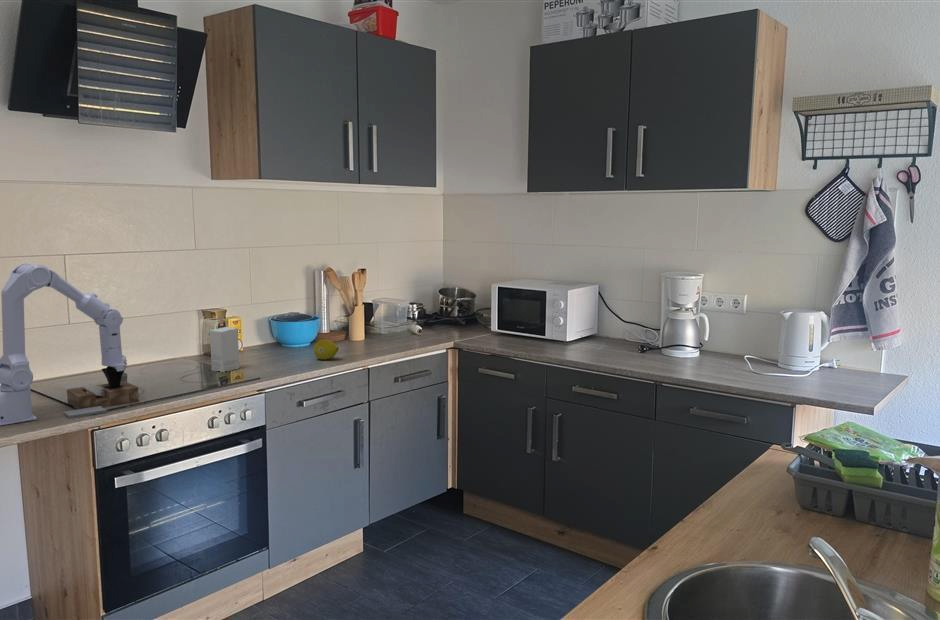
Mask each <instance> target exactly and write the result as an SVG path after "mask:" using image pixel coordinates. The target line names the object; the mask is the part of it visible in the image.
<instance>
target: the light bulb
mask: <svg viewBox="0 0 940 620" xmlns="http://www.w3.org/2000/svg"><path fill="white" fill-rule="evenodd" d="M122 359H126V360H127V355H125V354H122ZM127 362H128V361H127ZM127 362H124V363H123V364H124V368H125V370H126V369H127V368H128V366H127V365H128V363H127ZM122 381H126V382H128V373H126V372H125V371H124V372H123V375H122V378H121V382H122Z"/></svg>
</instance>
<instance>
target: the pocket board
mask: <svg viewBox="0 0 940 620" xmlns="http://www.w3.org/2000/svg"><path fill="white" fill-rule="evenodd" d="M95 385H96V386H100V387H104V388H107V389H108V390H105V393H106V397H102V396H98V395H95V393H93V392H87V390H88V388H86V387H84V386H81V387H73V388H67V389H66V397H67V398H66V399H67V404H68V403H69V404H70V405H69V404H68V405H69V406H71V405H72V406H73V407H72V406H71V407H72V408H74V409H75V410H78V409H84V408H90V407H96V406H101V407H103V408H107V407H111V406H119V405H124V404H131V403H137V402H139V401H140V399H139V398H140V397H139V387H138V386H136V385H134V384H132V383H129V382H128V381H127V382H126V381H122V382H120V388H115V389H110V387H109V384H108V383H103V384H95Z"/></svg>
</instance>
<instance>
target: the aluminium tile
mask: <svg viewBox="0 0 940 620" xmlns="http://www.w3.org/2000/svg"><path fill="white" fill-rule="evenodd" d="M96 385H97V384H92V383H89V385H88V388H87V393H88V392H93V393H95V395H98V396H102V397H106V393H105V390H108V389H107V388H104V387H100V386H96Z"/></svg>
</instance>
